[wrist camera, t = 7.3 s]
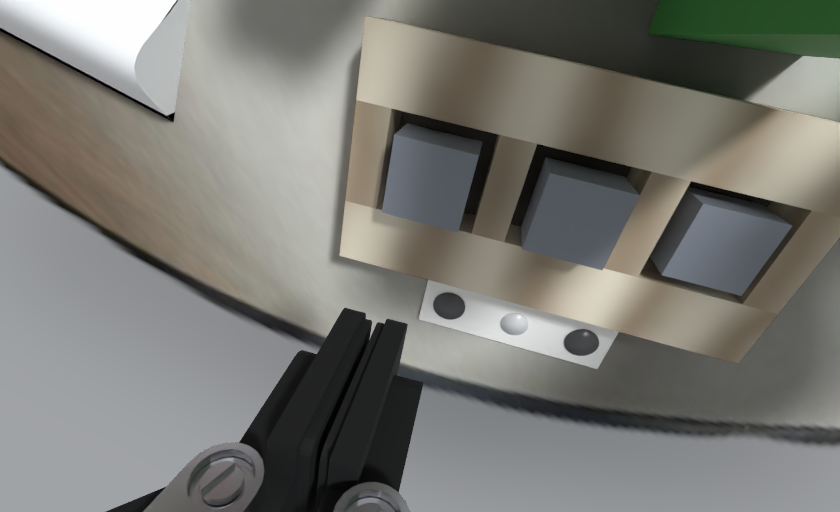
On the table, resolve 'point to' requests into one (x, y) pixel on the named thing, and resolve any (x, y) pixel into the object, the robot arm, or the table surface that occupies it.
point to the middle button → (577, 213)
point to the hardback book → (754, 24)
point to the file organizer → (109, 42)
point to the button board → (599, 138)
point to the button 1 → (430, 176)
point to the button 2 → (718, 241)
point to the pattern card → (516, 324)
